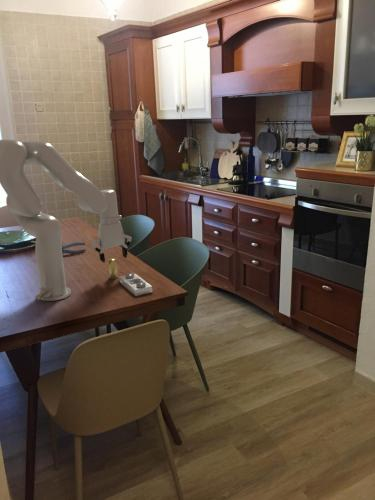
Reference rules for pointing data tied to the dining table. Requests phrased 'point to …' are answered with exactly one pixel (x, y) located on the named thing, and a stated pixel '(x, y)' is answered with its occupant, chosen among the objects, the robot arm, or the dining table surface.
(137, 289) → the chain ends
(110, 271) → the pin
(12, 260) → the dining table surface
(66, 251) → the pliers
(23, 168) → the robot arm
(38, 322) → the dining table surface
